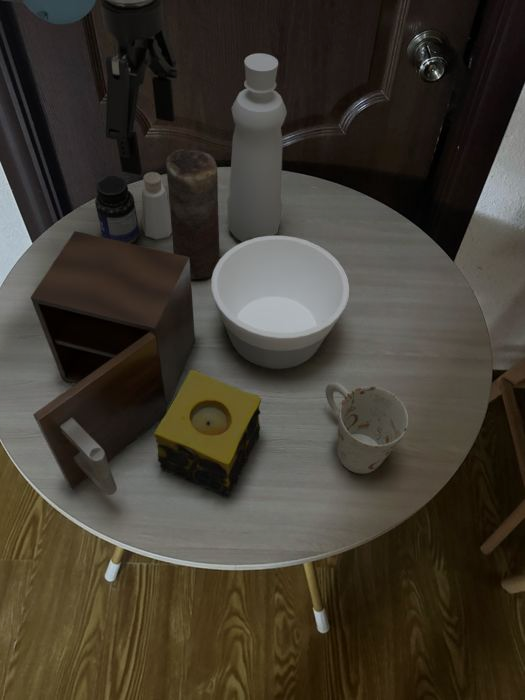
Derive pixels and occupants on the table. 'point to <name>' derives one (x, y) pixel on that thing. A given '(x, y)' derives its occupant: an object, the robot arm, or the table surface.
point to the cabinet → (115, 306)
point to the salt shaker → (155, 208)
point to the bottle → (256, 152)
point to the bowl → (279, 298)
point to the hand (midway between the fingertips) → (149, 144)
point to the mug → (367, 425)
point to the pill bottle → (116, 210)
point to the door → (104, 414)
